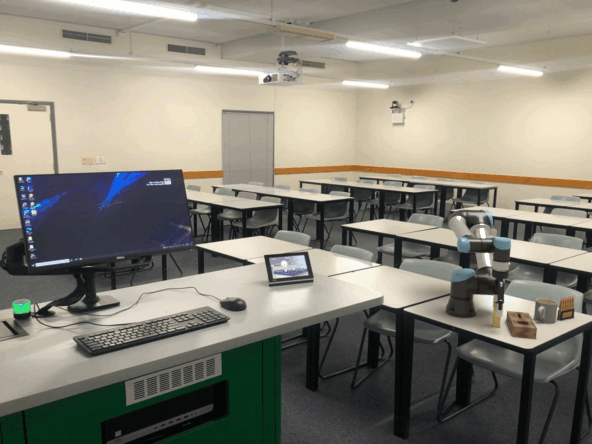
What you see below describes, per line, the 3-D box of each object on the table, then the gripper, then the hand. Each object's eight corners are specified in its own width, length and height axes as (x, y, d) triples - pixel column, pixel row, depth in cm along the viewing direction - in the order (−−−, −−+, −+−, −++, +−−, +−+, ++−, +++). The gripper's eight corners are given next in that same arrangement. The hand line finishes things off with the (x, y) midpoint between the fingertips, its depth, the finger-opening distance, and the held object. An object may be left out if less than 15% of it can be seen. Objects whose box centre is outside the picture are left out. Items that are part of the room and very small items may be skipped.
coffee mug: (541, 315, 262) (543, 297, 261) (559, 321, 254) (561, 302, 252) (525, 319, 256) (527, 301, 254) (544, 326, 247) (545, 306, 246)
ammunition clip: (570, 316, 261) (572, 294, 259) (573, 317, 259) (576, 295, 257) (556, 319, 256) (559, 297, 254) (560, 321, 255) (562, 298, 253)
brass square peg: (492, 326, 246) (494, 303, 244) (492, 324, 249) (493, 301, 247) (499, 327, 245) (501, 303, 243) (499, 325, 248) (500, 301, 246)
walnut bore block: (512, 336, 234) (513, 326, 233) (506, 320, 255) (507, 310, 254) (536, 338, 231) (536, 328, 230) (527, 322, 252) (528, 312, 251)
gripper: (512, 276, 229) (509, 320, 232) (505, 264, 253) (502, 304, 256) (495, 275, 231) (492, 319, 234) (489, 263, 255) (486, 303, 258)
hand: (497, 311), depth 245 cm, fingers open, 13 cm apart
